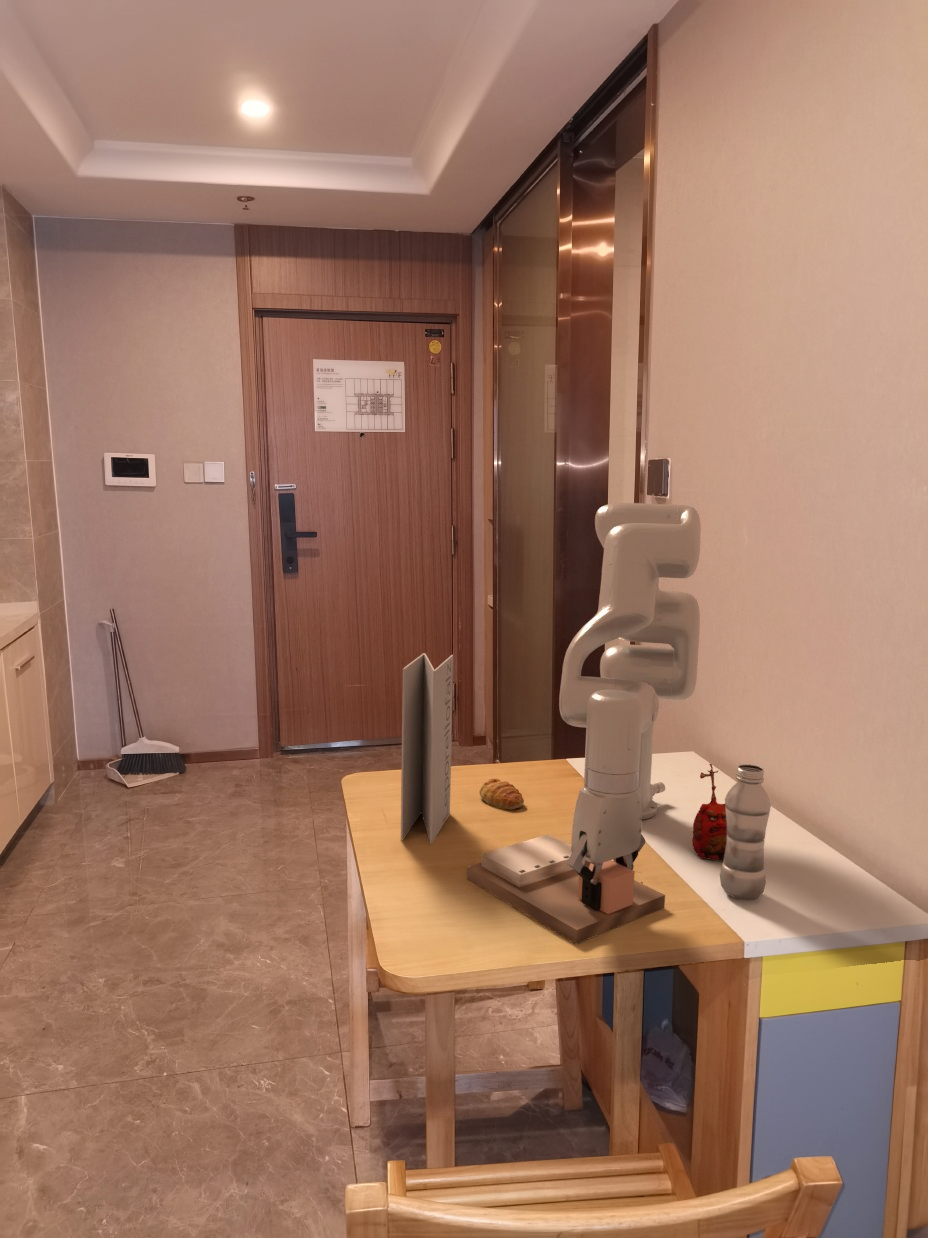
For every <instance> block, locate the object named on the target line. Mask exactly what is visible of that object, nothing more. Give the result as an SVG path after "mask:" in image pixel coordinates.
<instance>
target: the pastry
mask: <svg viewBox="0 0 928 1238" xmlns="http://www.w3.org/2000/svg"><path fill="white" fill-rule="evenodd" d="M479 796H480V798H481V800H482V801H484V802H485V803H486V804H488V805H490V804H491V805H490V806H493V807H495V806H496V808H498V807H499V808H498V809H502V810H509V811H511V810H515V809H517V808H521V807H522V806H523V804H524V803H525V802H524V801H525V800H524V797H523V795H522V793H521V792H520V791H519V789H517V788H516V787H515V786H514V784H513V783H510V782H509V781H505V780H504V781H503V780H501V779H500V778H499V779H498V778H489V779H488V780H487V781H485V782H484V783H483V784H482V786H481V787H480V789H479Z"/></svg>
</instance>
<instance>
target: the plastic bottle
mask: <svg viewBox="0 0 928 1238" xmlns="http://www.w3.org/2000/svg"><path fill="white" fill-rule="evenodd" d="M736 772H737V773H736V776H735V779H736V780H737V782H736V783H735V784H734V785H732V787H731V788H730V789H729V790H728V792H726V796H725V798H724V804H725V809H726V820H727V842H726V848H725V855H724V860H722V861H723V862H722V863H721V868H720V872H719V877H720V878H719V880H720V886H721V888H722V889H723V891H724V893H726V894H727V895H729V896H731V897H733V898H737V899H741V900H756V899H758V898H760V897H761V896H762V895H763V894H764V892H765V889H766V885H767V876H766V870H765V868H766V867H765V852H764V851H765V848H764V847H765V839H766V831H767V826H768V822H769V817H770V812H771V809H772V808H771V807H772V804H771V799H770V797H769V795H768V793H767V791H766V790H765V788H764V787H763V785H762V783H764V780H765V779H764V774H765V773H764V772H765V771H764V768H763V767H761V766H759V765H755V764H745V763H744V764H739V765H738V766H737V771H736Z"/></svg>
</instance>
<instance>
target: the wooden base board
mask: <svg viewBox="0 0 928 1238" xmlns="http://www.w3.org/2000/svg"><path fill="white" fill-rule="evenodd" d="M571 854H572V852H571V843H567V842H566V841H563V839H560V838H558V837H555V836H553V835H551V834H549V833H547V834H543V835H540V836H538V837H537V836H536V837H534V838H530V839H528V840H524V841H520V842H517V843H514V844H510V845H506V846H502V847H501V848H497V849H494V850H490V851H487V852H484V853H481V862H480V863H476V864H473V865H470V866H467V871H466V872H467V875H466V879H467V880H468V881H469V882H472V883H473V884H474V885H476V886H478V887H480V888H481V889H483V890H485V891H486V892H488V893H489V894H492V895H493V896H495V897H496V898H498V899H499V900H501V901H503V902H505V903H506V904H508V905H510V906H512V908H513V907H514V908H515V909H517V910H518V911H520V912H521V913H524V914H525V915H526V916H528V917H530V918H531V919H534V921H536V922H538V923H541V925H543V926H546V927H547V928H548V927H549V929H550V930H552V931H554V932H555V933H557V934H558V935H560V936H562V937H564V938H565V939H567V940H568V941H571V942H572V943H574V944H575V945H576V944H580V943H582V942H584V941H587V940H590V939H592V938H594V937H597V936H598V935H601V934H604V933H607V932H608V931H611V930H614V929H616V928H618V927H621V926H624V925H625V924H629V923H631V922H632V921H636V920H638V919H639V918H640V919H641V918H643V917H645V916H647V915H650V914H653V913H655V912H657V911H660V910H663V909H664V908H665V906H666V905H665V904H666V894H664V893H661V892H660V891H658V890H656V889H654V888H651V887H649V886H648V885H645V884H643V883H641V882H639V881H637V880H635V879H634V892H633V905H630V906H628V907H625V908H623V909H620V910H618V911H615V912H612V913H610V914H607V913H605V912H603V911H602V910H600V909H599V910H594V909H593V908H591V907H589V906H587V905H585V904H583V903H582V900H581V899H579V898H578V881H579V874H578V873H577V872H576V871H575V870H574V869H572V868H571V867H570V866H569V865H568V864H567V861H568V859H569V857H570V856H571Z"/></svg>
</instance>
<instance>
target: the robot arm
mask: <svg viewBox="0 0 928 1238" xmlns="http://www.w3.org/2000/svg"><path fill="white" fill-rule="evenodd" d="M595 513H596V514H595V517H594V525H595V528H594V529H595V533H596V536H597V538H598V540H599V542H600V545H601V546H602V548H603V557H602V566H601V579H600V591H599V597H598V598H599V599H598V609H597V612H596V613H595V615H594V616H592V618H591V619H590V620H589V621H588V622H586V623H585V624H584V625H583V626H582V627H581V628H580V630H579V631H578V632H577V633H576V634H575V635H574V636H573V638H572V640H571V642H570V644H569V645H568V648H567V649H566V651H565V655H564V659H563V663H562V669H561V670H562V673H561V680H560V689H559V701H558V702H559V703H558V706H559V713H560V717H561V719H562V720H563V722H565V723H566V724H567V725H570V726H572V727H578V728H586V730H585V731H586V732H585V750H584V751H585V753H584V756H585V757H584V773H583V774H584V776H583V777H584V778H583V779H584V780H583V787H581V788H579V792H578V796H577V799H576V803H575V808H574V814H573V822H572V830H571V840H570V845H571V852H572V854H571V856H570V857H569V859H568V861H567V864H568V865H569V866H570V867H571V868H572V869H574V870H575V871H576V872H577V873H578V874H579V877H581V878H583V879H582V903H583V904H585V905H587V906H589V907H591V908H593V909H594V910H599V909H600V906H601V884H602V883H600V882H598V881H599V877H600V873H601V869H602V865H603V862H606V861H609V860H612V861H614V862H616V863H618V864H620V865H622V866H624V867H627V868H629V869H631V870H633V871H634V866H635V865H634V862H635V861H636V859H637V858H638V856H639V852H641V850H642V849H643V847H644V846H645V844H646V839H645V837H644V835H643V833H642V831H643V830H642V827H643V826H642V825H643V823H642V822H643V820H646V819H650V818H652V817H654V816H655V815H657V814H658V804H657V802H656V801H655V800H654V799H653V797H655V795H656V794H661V793H664V792H665V791H666V786H665V784H664V783H663V782H662V781H661V782H660V781H659V782H655V783H651V779H652V766H653V765H652V763H653V762H652V761H653V749H654V748H653V747H654V746H653V744H654V728H655V725H654V724H655V723H654V722H655V721H656V720H657V717H658V713H659V708H660V707H659V706H660V704H659V703H660V702H659V701H660V700H672V701H673V700H678V701H681V700H686V699H689V698H690V697H691V696H692V695H693V694H694V691H695V689H696V683H697V676H698V661H699V660H698V659H699V647H700V645H699V644H700V629H701V627H700V626H701V614H700V605H699V603H698V600H697V598H695V596H694V595H692V594H691V593H688V592H683V591H671V590H660V586H659V583H660V578H664V579H665V578H669V579H687V578H690V577H692V576H693V575H694V574H695V572H696V570H697V567H698V565H699V561H700V553H701V532H702V530H701V529H702V527H701V518H700V514H699V512H698V510H697V509H695V508H694V507H692V506H690V505H685V504H663V503H662V504H660V503H659V504H658V503H642V502H617V503H616V502H615V503H609V504H605V505H602V506H601V507H599V508H598V509H597V511H596V512H595ZM616 639H619V640H621V641H627V642H633V643H635V642H636V643H646V644H647V643H649V644H663V645H664V644H665V645H670V646H671V647H668V646H667V647H666V646H651V645H642V644H641V645H640V644H639V645H638V644H616V645H613V646H610V647H609V648H607V649H605V651H604V652H603V653H602V655H601V657H600V663H599V671H600V672H599V673H600V677H599V676H598V677H597V676H583V675H582V670H583V665H584V662H585V660H586V659H587V658H588V656H589V655H590V654H591V653H593V652H594V651H595V650H596V649H598V648H599V647H601V646H603V645H605V644H607V643H610V642H613V641H614V640H616ZM659 699H660V700H659ZM590 863H592V864H594V866H593V870H592V871H591V870H590V869H589V866H590Z"/></svg>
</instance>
